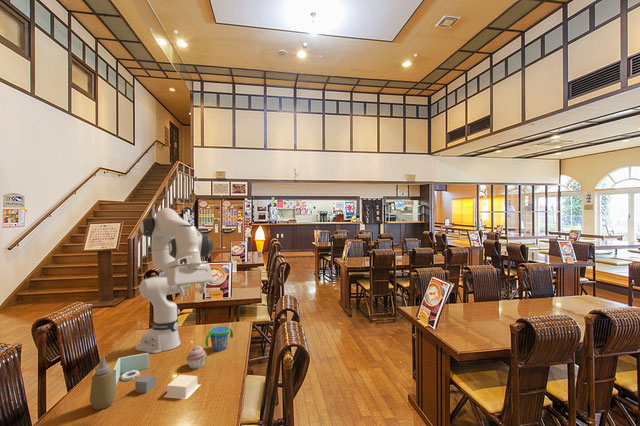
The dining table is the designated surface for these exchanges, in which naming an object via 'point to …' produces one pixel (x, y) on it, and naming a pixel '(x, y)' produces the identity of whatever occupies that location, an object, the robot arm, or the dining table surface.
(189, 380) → the cream base block
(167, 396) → the light grey flat slab
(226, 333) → the snack cup
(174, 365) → the dining table surface
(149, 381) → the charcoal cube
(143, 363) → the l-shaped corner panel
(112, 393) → the squeeze bottle
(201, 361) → the cupcake
